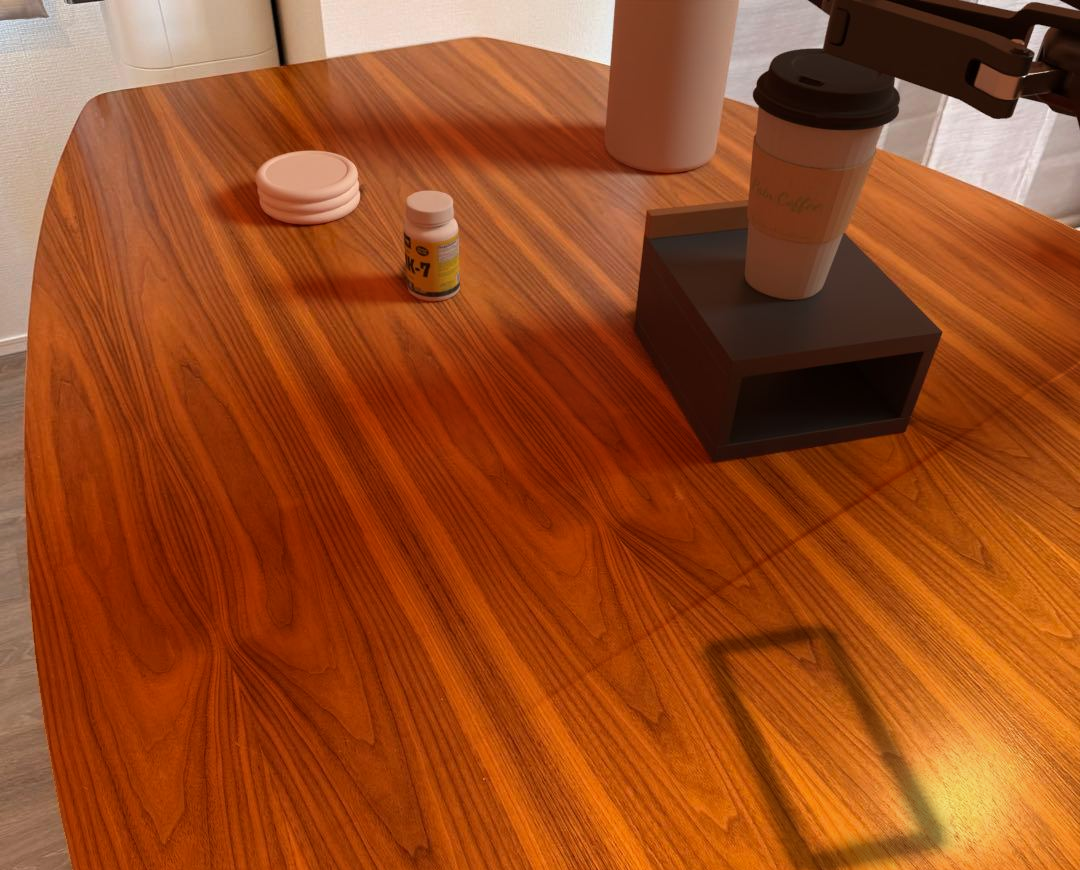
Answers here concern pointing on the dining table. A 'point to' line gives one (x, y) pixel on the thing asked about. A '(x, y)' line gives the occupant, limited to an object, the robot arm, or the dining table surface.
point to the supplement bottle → (431, 246)
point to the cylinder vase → (668, 81)
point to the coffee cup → (810, 165)
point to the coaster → (308, 187)
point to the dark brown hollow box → (775, 340)
